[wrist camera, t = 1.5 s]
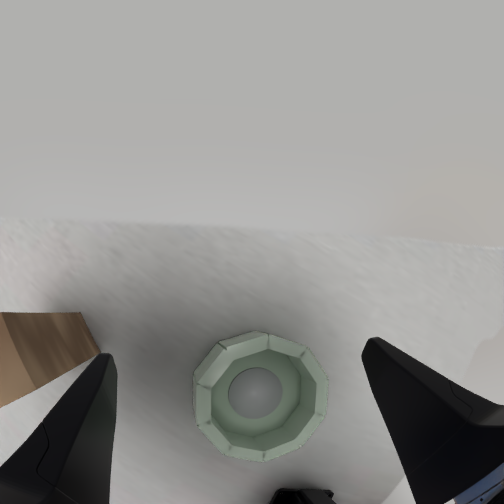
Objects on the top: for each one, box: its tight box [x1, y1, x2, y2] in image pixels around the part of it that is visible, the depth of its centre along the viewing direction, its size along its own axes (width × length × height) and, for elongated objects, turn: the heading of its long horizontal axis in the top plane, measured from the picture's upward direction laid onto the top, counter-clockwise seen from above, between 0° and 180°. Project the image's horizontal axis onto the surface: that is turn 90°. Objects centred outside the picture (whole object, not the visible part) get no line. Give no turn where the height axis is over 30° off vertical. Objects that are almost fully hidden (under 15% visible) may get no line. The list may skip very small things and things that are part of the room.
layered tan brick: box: [0, 312, 101, 408], centre depth 14 cm, size 4×4×12 cm
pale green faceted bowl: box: [193, 331, 329, 462], centre depth 21 cm, size 10×10×4 cm
